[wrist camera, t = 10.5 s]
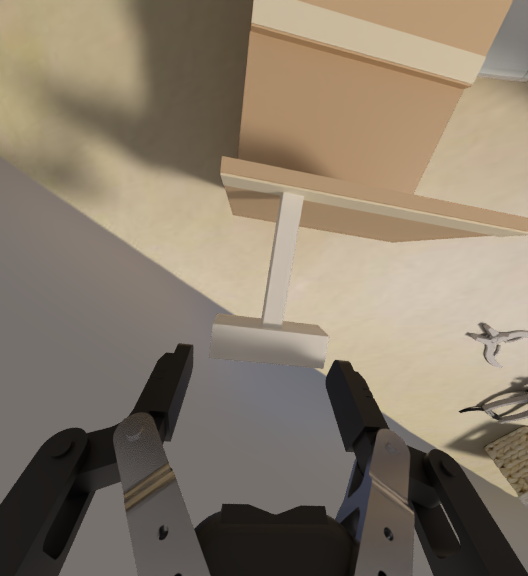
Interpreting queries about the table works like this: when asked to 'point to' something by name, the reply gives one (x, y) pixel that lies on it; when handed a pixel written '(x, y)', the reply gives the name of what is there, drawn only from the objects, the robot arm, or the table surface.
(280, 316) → the right flap
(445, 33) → the carton
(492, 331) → the pliers
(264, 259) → the table surface
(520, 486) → the storage basket
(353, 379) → the robot arm
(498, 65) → the hard drive
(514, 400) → the bike brake
